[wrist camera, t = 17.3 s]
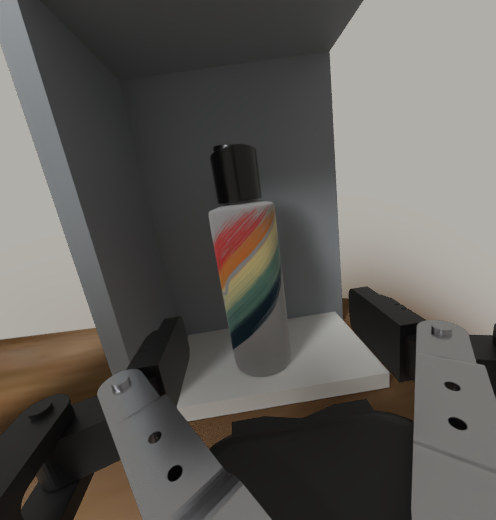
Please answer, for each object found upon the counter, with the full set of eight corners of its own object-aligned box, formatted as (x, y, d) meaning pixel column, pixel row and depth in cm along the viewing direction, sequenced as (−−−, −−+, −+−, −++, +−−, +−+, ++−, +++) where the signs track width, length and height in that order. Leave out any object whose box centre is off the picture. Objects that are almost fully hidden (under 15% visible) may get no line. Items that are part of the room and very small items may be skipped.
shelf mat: (168, 424, 21) (164, 410, 20) (190, 345, 32) (188, 334, 32) (389, 387, 21) (389, 372, 21) (335, 321, 32) (334, 311, 32)
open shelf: (134, 440, 20) (-43, -84, 12) (174, 341, 33) (105, 66, 25) (408, 394, 20) (423, -141, 12) (338, 315, 34) (322, 36, 26)
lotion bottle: (233, 347, 28) (198, 155, 22) (283, 337, 28) (259, 147, 23) (238, 384, 22) (193, 141, 17) (299, 371, 23) (274, 131, 17)
